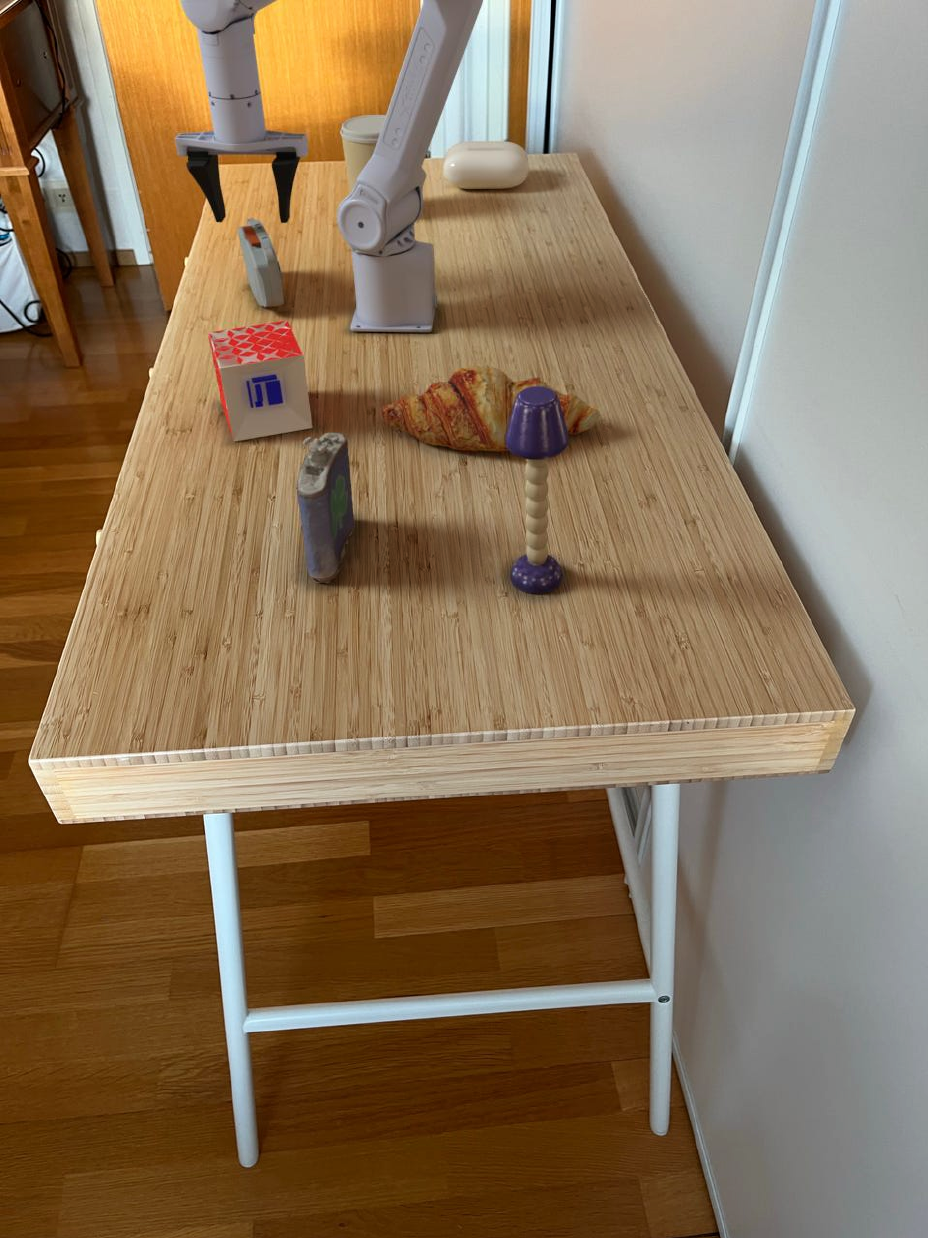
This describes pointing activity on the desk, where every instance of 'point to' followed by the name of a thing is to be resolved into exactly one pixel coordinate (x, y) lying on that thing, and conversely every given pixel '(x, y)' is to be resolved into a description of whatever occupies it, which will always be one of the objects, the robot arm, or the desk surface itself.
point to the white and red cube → (261, 380)
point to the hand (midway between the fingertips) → (253, 219)
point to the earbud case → (485, 165)
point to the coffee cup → (359, 143)
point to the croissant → (475, 410)
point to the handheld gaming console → (261, 264)
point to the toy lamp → (536, 481)
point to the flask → (325, 504)
